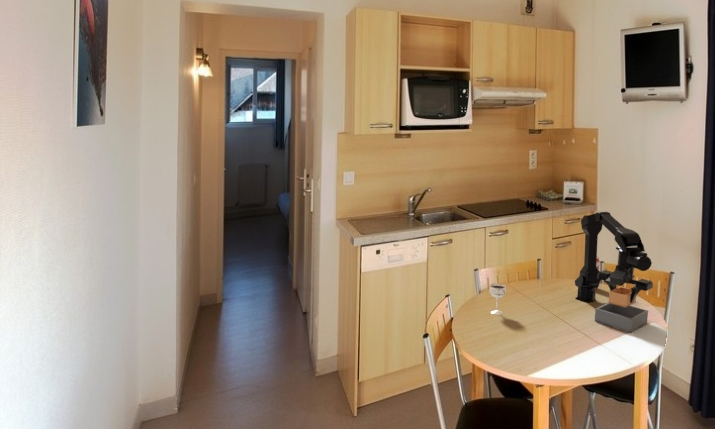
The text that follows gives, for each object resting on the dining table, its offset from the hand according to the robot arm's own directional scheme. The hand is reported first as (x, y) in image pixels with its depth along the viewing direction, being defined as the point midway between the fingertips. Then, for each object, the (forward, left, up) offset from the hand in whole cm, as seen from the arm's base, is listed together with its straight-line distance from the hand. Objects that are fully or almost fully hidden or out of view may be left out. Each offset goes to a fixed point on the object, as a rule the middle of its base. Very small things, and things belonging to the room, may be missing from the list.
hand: (622, 300), depth 183 cm
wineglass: (-37, -31, -10) cm, 49 cm away
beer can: (-27, +29, -10) cm, 41 cm away
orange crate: (0, 0, -1) cm, 1 cm away
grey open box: (0, 0, -10) cm, 10 cm away
